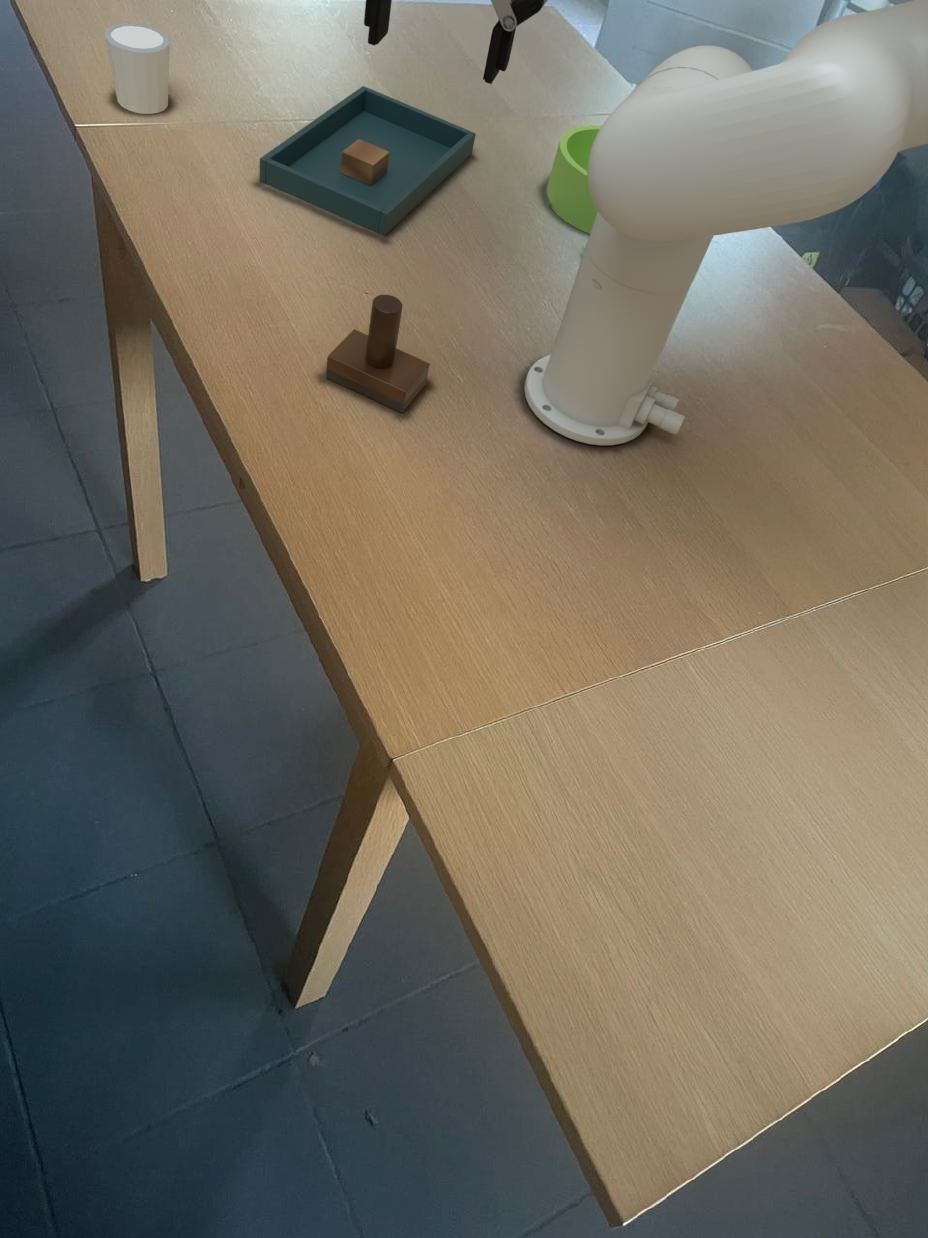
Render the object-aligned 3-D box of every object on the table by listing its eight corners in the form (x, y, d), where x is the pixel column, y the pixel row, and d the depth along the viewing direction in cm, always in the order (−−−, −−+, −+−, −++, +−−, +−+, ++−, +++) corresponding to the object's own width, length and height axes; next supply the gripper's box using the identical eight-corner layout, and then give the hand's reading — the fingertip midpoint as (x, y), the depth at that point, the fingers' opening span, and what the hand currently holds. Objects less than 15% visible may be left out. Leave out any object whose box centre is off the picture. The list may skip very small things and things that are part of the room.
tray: (471, 157, 114) (476, 133, 112) (384, 239, 100) (387, 214, 97) (360, 110, 116) (362, 85, 113) (259, 184, 101) (259, 157, 99)
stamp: (425, 384, 87) (441, 308, 80) (402, 413, 84) (416, 336, 77) (351, 350, 88) (360, 271, 81) (325, 377, 85) (332, 298, 78)
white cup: (105, 86, 107) (97, 21, 102) (165, 86, 110) (161, 22, 105) (119, 117, 104) (112, 50, 99) (180, 115, 107) (177, 51, 101)
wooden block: (387, 172, 107) (389, 151, 105) (370, 186, 105) (373, 164, 103) (356, 159, 108) (358, 138, 106) (340, 172, 105) (341, 151, 103)
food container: (536, 167, 116) (564, 61, 106) (644, 181, 119) (680, 79, 109) (575, 287, 101) (611, 178, 92) (696, 299, 105) (743, 194, 95)
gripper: (332, -252, 58) (316, 40, 72) (591, -168, 58) (526, 110, 71) (370, -270, 63) (348, 8, 76) (610, -192, 63) (546, 73, 76)
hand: (434, 57), depth 74 cm, fingers open, 9 cm apart
